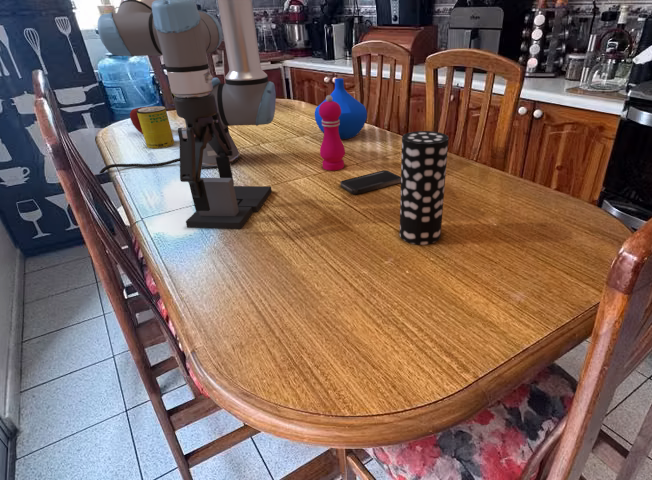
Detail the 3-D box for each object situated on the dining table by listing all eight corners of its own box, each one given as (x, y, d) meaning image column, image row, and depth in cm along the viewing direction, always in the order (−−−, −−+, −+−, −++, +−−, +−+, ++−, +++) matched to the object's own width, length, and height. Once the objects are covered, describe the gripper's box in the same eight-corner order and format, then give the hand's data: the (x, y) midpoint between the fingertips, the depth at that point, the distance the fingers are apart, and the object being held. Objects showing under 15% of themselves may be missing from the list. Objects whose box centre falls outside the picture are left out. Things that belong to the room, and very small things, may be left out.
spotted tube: (396, 226, 88) (398, 132, 78) (435, 224, 89) (442, 130, 79) (403, 246, 81) (406, 144, 71) (445, 243, 82) (454, 142, 71)
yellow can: (179, 141, 148) (171, 106, 142) (165, 149, 140) (155, 112, 134) (156, 140, 149) (147, 106, 143) (141, 148, 142) (130, 112, 136)
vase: (376, 132, 152) (376, 76, 142) (348, 146, 139) (346, 85, 129) (336, 126, 161) (333, 73, 151) (305, 138, 147) (300, 81, 138)
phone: (338, 181, 108) (385, 169, 115) (338, 185, 108) (385, 173, 115) (354, 191, 102) (403, 178, 109) (354, 195, 103) (403, 182, 110)
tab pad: (187, 227, 90) (176, 186, 85) (209, 205, 100) (200, 167, 95) (240, 228, 89) (232, 187, 84) (257, 206, 99) (251, 167, 94)
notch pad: (199, 211, 97) (197, 205, 96) (218, 191, 107) (217, 185, 107) (257, 212, 96) (256, 206, 95) (271, 191, 106) (271, 186, 105)
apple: (135, 132, 160) (127, 105, 155) (162, 129, 163) (155, 102, 158) (135, 138, 152) (126, 110, 147) (163, 134, 156) (156, 107, 151)
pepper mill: (342, 171, 118) (338, 98, 107) (317, 170, 119) (311, 97, 109) (348, 163, 124) (345, 92, 113) (325, 162, 125) (319, 92, 115)
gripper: (182, 108, 68) (209, 223, 79) (235, 82, 90) (251, 176, 100) (138, 108, 69) (171, 222, 80) (202, 82, 90) (221, 175, 101)
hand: (216, 196), depth 90 cm, fingers open, 13 cm apart
